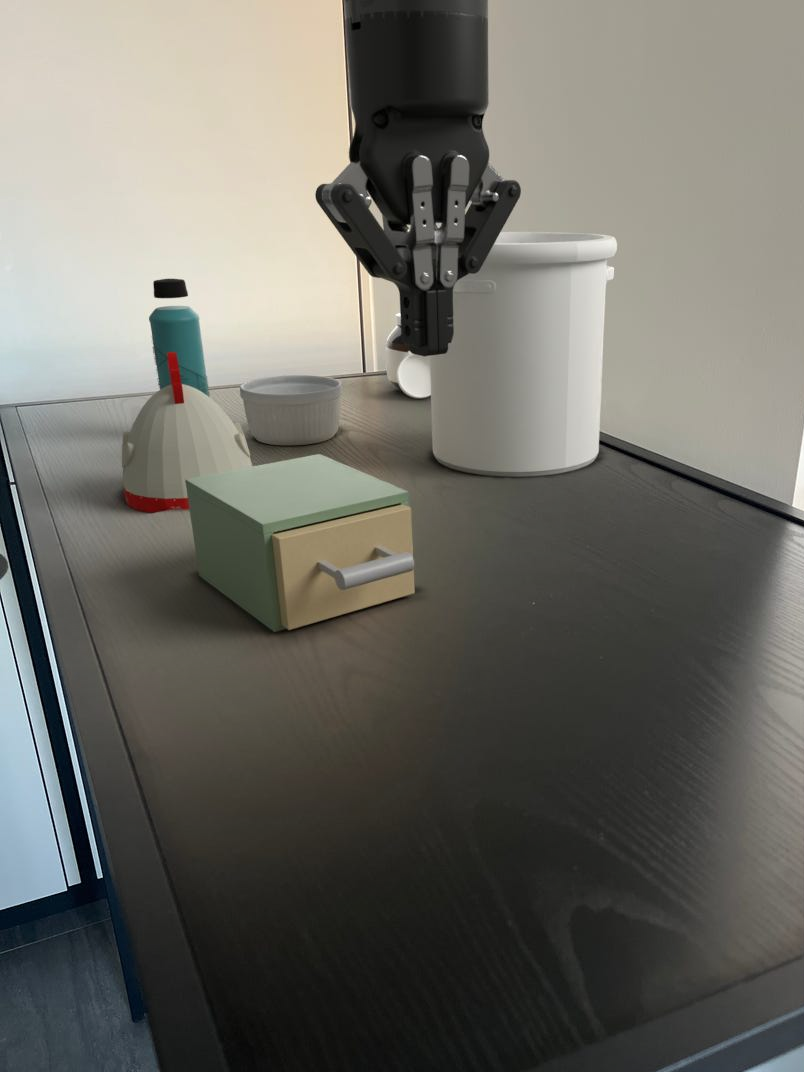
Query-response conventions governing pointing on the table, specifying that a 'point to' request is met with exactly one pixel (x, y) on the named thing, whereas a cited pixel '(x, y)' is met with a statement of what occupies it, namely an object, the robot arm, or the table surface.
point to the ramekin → (292, 408)
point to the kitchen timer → (177, 445)
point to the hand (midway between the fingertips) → (427, 353)
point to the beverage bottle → (177, 337)
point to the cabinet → (271, 520)
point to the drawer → (343, 565)
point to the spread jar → (406, 366)
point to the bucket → (525, 358)
